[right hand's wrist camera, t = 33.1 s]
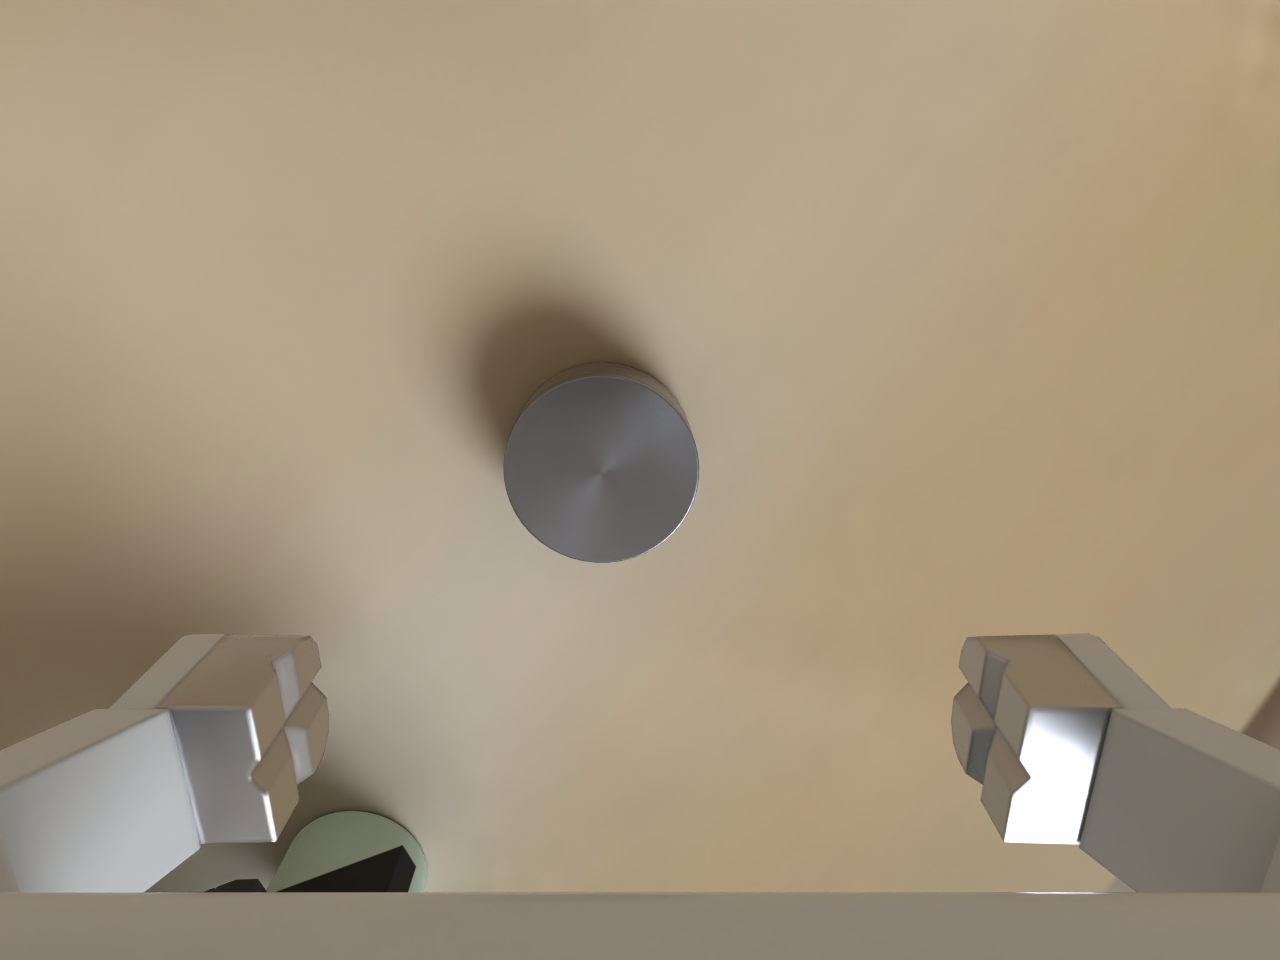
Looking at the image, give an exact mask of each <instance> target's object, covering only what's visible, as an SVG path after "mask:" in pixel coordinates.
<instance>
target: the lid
mask: <svg viewBox="0 0 1280 960" xmlns="http://www.w3.org/2000/svg"><path fill="white" fill-rule="evenodd" d="M698 480H699V460H698V453H697V449H696V445H695V441H694V438H693V435H692V432H691V429H690V426H689V423H688V421H687V418H686V416H685V413H684V411H683V410H682V408H681V406H680V404H679V403H678V401H677V400H676V399H675V397H674V396H673V395H672V393H671V392H670V391H669V390H668V389H667V388H666V387H665V386H664V385H662V384H661V383H660V382H659V381H657V380H656V379H655V378H653V377H651V376H650V375H648V374H646V373H645V372H643V371H640V370H638V369H635V368H633V367H630V366H626V365H622V364H616V363H603V362H597V363H589V364H583V365H579V366H575V367H572V368H570V369H567V370H565V371H562V372H560V373H559V374H557V375H555V376H553V377H552V378H550V379H549V380H548V381H547V382H545V383H544V384H543V385H542V386H541V387H540V388H539V389H538V390H537V391H536V392H535V393H534V394H533V395H532V396H531V398H530V399H529V400H528V402H527V403H526V405H525V407H524V409H523V411H522V412H521V414H520V416H519V418H518V420H517V422H516V424H515V426H514V428H513V429H512V432H511V434H510V437H509V439H508V442H507V446H506V451H505V456H504V481H505V486H506V491H507V494H508V497H509V500H510V503H511V505H512V507H513V509H514V511H515V513H516V515H517V516H518V518H519V519H520V521H521V523H522V524H523V525H524V526H525V527H526V529H527V530H528V531H529V532H530V533H531V534H532V535H533V536H534V537H535V538H536V539H538V540H539V541H540V542H541V543H543V544H544V545H546V546H547V547H549V548H550V549H552V550H554V551H556V552H558V553H560V554H562V555H565V556H568V557H570V558H573V559H577V560H582V561H587V562H596V563H609V562H617V561H623V560H627V559H631V558H634V557H637V556H639V555H642V554H644V553H646V552H648V551H650V550H652V549H654V548H655V547H657V546H658V545H660V544H661V543H662V542H664V541H665V540H666V539H667V538H668V537H670V536H671V535H672V534H673V533H674V532H675V531H676V529H677V528H678V527H679V526H680V525H681V523H682V522H683V520H684V519H685V517H686V516H687V514H688V512H689V510H690V508H691V506H692V504H693V501H694V498H695V495H696V492H697V486H698Z"/></svg>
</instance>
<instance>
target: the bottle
mask: <svg viewBox="0 0 1280 960" xmlns="http://www.w3.org/2000/svg"><path fill="white" fill-rule="evenodd" d="M402 845H403V846H404V848H405V849H406V851H407V853H408V854H409V856H410V857H411V859H412V861H413V862H414V864H415V865H416V869H415V872H414V875H413V879H412V882H411V885H410V888H409V891H408V892H423V890H424V887H425V883H426V879H427V865H426V861H425V857H424V854H423V852H422V849H421V848H420V846H419V844H418V842H417V841H416V840H415V839H414V837H413V836H412V835H411V834H410V833H409V832H408V831H407V830H405V829H404V828H403V827H402V826H400V825H399V824H397V823H395V822H394V821H392V820H390V819H388V818H385V817H383V816H380V815H377V814H373V813H369V812H362V811H342V812H336V813H331V814H328V815H325V816H322V817H320V818H318V819H316V820H314V821H312V822H311V823H309V824H308V825H306V826H305V827H304V828H303V829H302V830H301V831H300V832H299V833H298V834H297V835H296V837H295V838H294V839H293V841H292V843H291V845H290V847H289V849H288V850H287V852H286V854H285V856H284V858H283V860H282V862H281V864H280V866H279V868H278V870H277V871H276V873H275V875H274V877H273V879H272V881H271V883H270V885H269V887H268V889H267V890H266V891H267V892H277V891H279V890H282V889H285V888H287V887H290V886H293V885H296V884H298V883H301V882H304V881H306V880H309V879H312V878H315V877H317V876H320V875H323V874H325V873H328V872H331V871H334V870H336V869H339V868H342V867H344V866H347V865H350V864H353V863H355V862H358V861H361V860H364V859H366V858H369V857H372V856H374V855H377V854H380V853H383V852H385V851H388V850H391V849H393V848H396V847H399V846H402Z"/></svg>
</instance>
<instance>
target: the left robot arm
mask: <svg viewBox="0 0 1280 960" xmlns="http://www.w3.org/2000/svg"><path fill="white" fill-rule="evenodd" d="M415 869H416V865H415V864H414V862H413V861H412V859H411V857H410V856H409V854H408V853H407V851H406V849H405V848H404V846H403V845H402V846H399V847H396V848H393V849H391V850H388V851H385V852H383V853H380V854H377V855H374V856H372V857H369V858H366V859H364V860H361V861H358V862H355V863H353V864H350V865H347V866H344V867H342V868H339V869H336V870H334V871H331V872H328V873H325V874H323V875H320V876H317V877H315V878H312V879H309V880H306V881H304V882H301V883H298V884H296V885H293V886H290V887H287V888H285V889H282V890H279V891H277V892H408V891H409V888H410V885H411V882H412V879H413V875H414V872H415ZM205 892H267V891H266V890H265V888H264V887H263V886H262V884H261V883H260V881H259V880H258V879H246V880H234V881H232V882H229V883H226V884H224V885H221V886H218V887H217V888H216V889H215V888H213V889H210V890H207V891H205Z"/></svg>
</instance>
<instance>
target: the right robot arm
mask: <svg viewBox="0 0 1280 960" xmlns="http://www.w3.org/2000/svg"><path fill="white" fill-rule="evenodd" d="M320 668H321V662H320V657H319V652H318V647H317V643H316V642H315V641H314V640H313V639H312V638H311V637H310V636H295V635H244V634H232V635H229V634H192V635H186V636H182V637H181V638H180V639H179V640H178V641H177V642H176V643H175V644H174V645H173V646H172V647H171V648H170V649H169V650H168V651H167V652H166V653H165V654H164V655H163V656H162V657H161V658H160V659H159V660H157V661H156V662H155V663H154V664H153V665H152V666H151V667H150V668H149V669H148V670H147V671H146V672H145V673H144V674H143V675H142V676H141V677H140V678H139V679H138V680H137V681H136V682H135V683H134V684H133V685H132V686H131V687H130V688H129V689H128V690H127V691H126V692H125V693H124V694H123V695H122V696H121V697H120V698H119V699H118V700H117V701H116V702H115V703H114V704H113V705H111V706H110V707H109V708H108V709H93V710H91V711H88V712H86V713H84V714H82V715H79V716H77V717H75V718H72V719H70V720H68V721H66V722H63V723H61V724H59V725H56V726H54V727H52V728H50V729H47V730H45V731H43V732H40V733H38V734H36V735H34V736H31V737H29V738H27V739H24V740H22V741H20V742H17V743H15V744H13V745H11V746H8V747H6V748H4V749H1V750H0V960H1280V750H1278V749H1276V748H1274V747H1271V746H1269V745H1267V744H1265V743H1262V742H1260V741H1258V740H1255V739H1253V738H1251V737H1249V736H1246V735H1244V734H1242V733H1239V732H1237V731H1235V730H1233V729H1230V728H1228V727H1226V726H1223V725H1221V724H1219V723H1217V722H1214V721H1212V720H1210V719H1207V718H1205V717H1203V716H1201V715H1198V714H1196V713H1194V712H1192V711H1189V710H1187V709H1172V708H1171V707H1170V706H1169V705H1168V704H1167V703H1166V702H1164V701H1163V700H1162V699H1161V698H1160V697H1159V696H1158V695H1157V694H1156V693H1155V692H1154V691H1153V690H1152V689H1151V688H1150V687H1149V686H1148V685H1147V684H1146V683H1145V682H1144V681H1143V680H1142V679H1141V678H1140V677H1139V676H1138V675H1137V674H1136V673H1135V672H1134V671H1133V670H1132V669H1131V668H1130V667H1129V666H1128V665H1127V664H1126V663H1125V662H1124V661H1123V660H1122V659H1121V658H1120V657H1119V656H1118V655H1117V654H1116V653H1115V652H1114V651H1113V650H1111V649H1110V648H1109V647H1108V646H1107V645H1106V644H1105V643H1104V642H1103V641H1102V640H1101V639H1100V638H1099V637H1097V636H1094V635H1091V634H1089V633H1084V634H1059V635H1019V636H979V637H967V638H966V641H965V643H964V645H963V647H962V650H961V656H960V661H959V668H960V670H961V671H962V673H963V674H964V676H965V678H966V679H967V681H968V683H967V684H966V685H965V686H964V687H963V688H962V689H961V690H960V691H959V692H958V693H957V695H956V696H955V697H954V700H953V708H952V716H951V726H952V736H953V744H954V747H955V750H956V754H957V757H958V759H959V761H960V763H961V765H962V767H963V769H964V771H965V773H966V774H967V775H969V776H970V777H972V778H973V779H975V780H976V781H978V782H980V783H981V784H983V788H982V794H981V802H982V804H983V805H984V807H985V809H986V811H987V813H988V814H989V816H990V818H991V820H992V822H993V823H994V825H995V827H996V829H997V830H998V832H999V834H1000V836H1001V838H1002V839H1003V841H1004V842H1016V843H1052V844H1080V846H1079V848H1080V849H1082V850H1083V851H1084V852H1085V853H1087V854H1088V855H1089V856H1090V857H1092V858H1093V859H1094V860H1096V861H1097V862H1098V863H1099V864H1101V865H1102V866H1103V867H1105V868H1106V869H1107V870H1108V871H1110V872H1111V873H1112V874H1114V875H1115V876H1116V877H1117V878H1119V879H1120V880H1121V881H1123V882H1124V883H1125V884H1127V885H1128V886H1129V887H1130V888H1132V889H1133V890H1134V891H1135V892H145V891H146V890H147V889H149V888H150V887H151V886H153V885H154V884H155V883H156V882H158V881H159V880H160V879H162V878H163V877H164V876H165V875H167V874H168V873H169V872H171V871H172V870H173V869H174V868H176V867H177V866H178V865H180V864H181V863H182V862H183V861H185V860H186V859H187V858H189V857H190V856H191V855H192V854H194V853H195V852H196V851H198V850H199V849H200V848H201V846H200V844H227V843H262V842H276V841H277V839H278V838H279V836H280V834H281V832H282V831H283V829H284V827H285V825H286V823H287V822H288V820H289V818H290V816H291V814H292V813H293V811H294V809H295V807H296V805H297V804H298V802H299V794H298V788H297V784H299V783H300V782H302V781H304V780H305V779H307V778H308V777H310V776H311V775H313V774H314V773H315V771H316V769H317V767H318V765H319V763H320V761H321V759H322V757H323V754H324V750H325V746H326V741H327V737H328V724H329V713H328V706H327V699H326V697H325V696H324V695H323V693H322V692H321V691H320V690H319V689H318V688H317V687H316V686H315V685H314V684H313V683H312V681H313V679H314V678H315V676H316V674H317V673H318V671H319V670H320Z"/></svg>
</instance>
